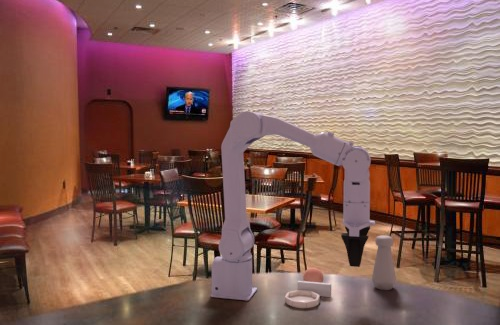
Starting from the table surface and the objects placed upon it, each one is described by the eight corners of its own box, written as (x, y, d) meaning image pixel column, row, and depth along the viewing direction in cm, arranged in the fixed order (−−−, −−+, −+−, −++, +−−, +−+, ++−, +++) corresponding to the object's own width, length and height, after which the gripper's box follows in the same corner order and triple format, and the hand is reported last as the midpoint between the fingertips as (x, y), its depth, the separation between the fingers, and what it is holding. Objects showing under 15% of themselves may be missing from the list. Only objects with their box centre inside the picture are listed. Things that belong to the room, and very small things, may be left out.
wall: (297, 294, 112) (297, 281, 112) (298, 292, 113) (298, 280, 112) (330, 297, 109) (330, 284, 109) (331, 295, 110) (331, 283, 110)
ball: (301, 289, 115) (301, 270, 114) (305, 283, 120) (305, 264, 119) (322, 291, 113) (322, 271, 113) (324, 284, 118) (324, 265, 118)
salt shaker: (396, 292, 113) (397, 239, 112) (372, 290, 114) (373, 238, 113) (394, 284, 118) (395, 234, 117) (371, 282, 119) (371, 233, 119)
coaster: (282, 306, 104) (282, 300, 104) (289, 294, 111) (289, 289, 111) (316, 309, 102) (316, 303, 102) (321, 297, 109) (321, 291, 109)
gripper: (374, 207, 95) (373, 272, 96) (376, 197, 108) (375, 254, 109) (339, 205, 97) (338, 269, 98) (345, 196, 110) (345, 252, 111)
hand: (356, 261), depth 104 cm, fingers open, 7 cm apart
